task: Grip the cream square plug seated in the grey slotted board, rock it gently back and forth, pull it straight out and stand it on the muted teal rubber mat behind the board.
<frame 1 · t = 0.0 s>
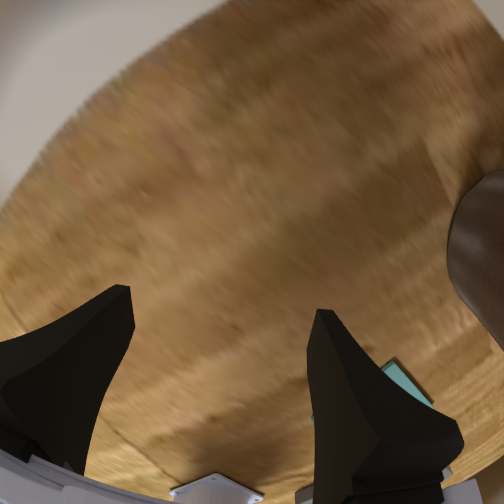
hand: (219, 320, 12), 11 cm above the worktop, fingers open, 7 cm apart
mat: (376, 412, 26), on the worktop
grey slotted board: (364, 489, 31), on the worktop
plant pot: (496, 241, 21), on the worktop
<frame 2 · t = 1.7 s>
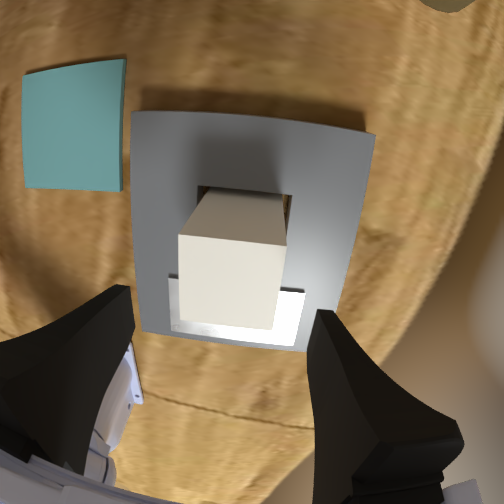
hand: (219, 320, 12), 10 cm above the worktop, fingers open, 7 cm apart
mat: (68, 127, 19), on the worktop
grey slotted board: (239, 261, 23), on the worktop
plug: (243, 221, 21), resting in grey slotted board
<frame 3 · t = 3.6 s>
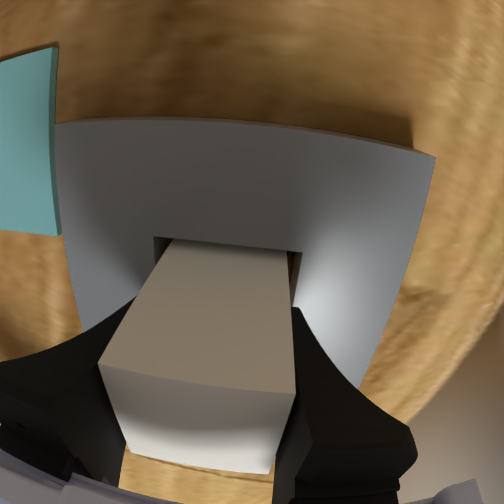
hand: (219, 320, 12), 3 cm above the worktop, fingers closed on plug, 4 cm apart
grey slotted board: (225, 330, 16), on the worktop
plug: (228, 280, 15), resting in grey slotted board, touching gripper
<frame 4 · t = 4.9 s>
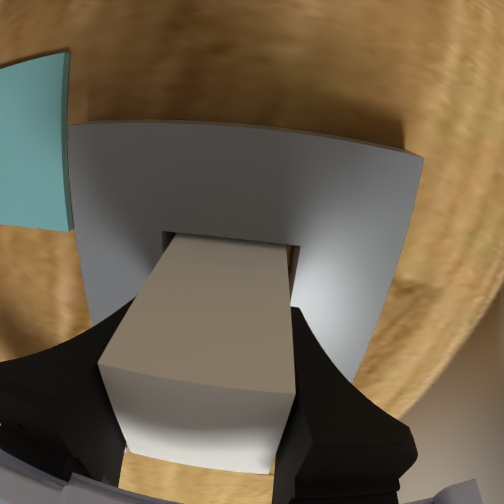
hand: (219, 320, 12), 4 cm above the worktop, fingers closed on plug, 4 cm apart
mat: (7, 146, 13), on the worktop
grey slotted board: (228, 321, 17), on the worktop
plug: (228, 279, 15), point 1 cm above the worktop, touching gripper
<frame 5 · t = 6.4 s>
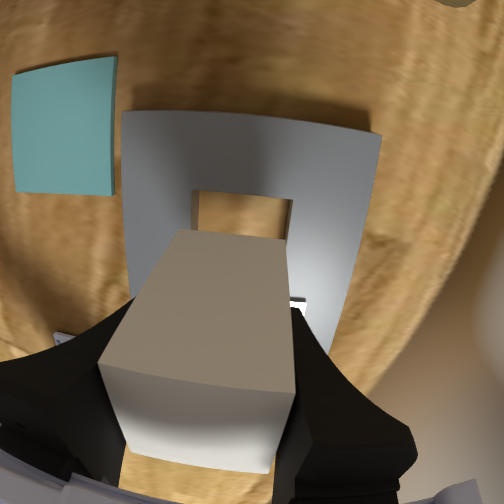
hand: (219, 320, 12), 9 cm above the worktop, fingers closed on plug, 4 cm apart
mat: (58, 128, 18), on the worktop
grey slotted board: (237, 269, 22), on the worktop
plug: (228, 279, 15), point 6 cm above the worktop, touching gripper
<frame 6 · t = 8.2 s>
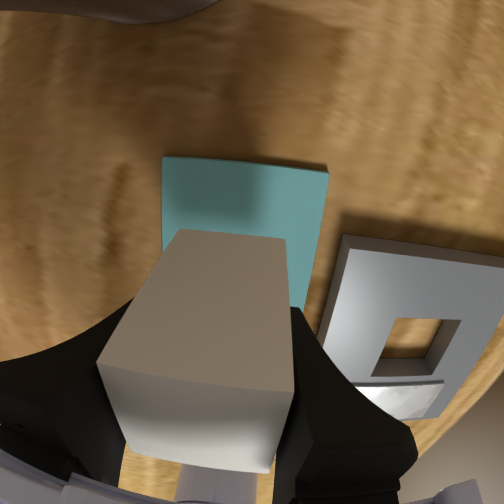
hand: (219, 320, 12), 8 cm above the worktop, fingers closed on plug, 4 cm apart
mat: (238, 237, 19), on the worktop
grey slotted board: (394, 360, 23), on the worktop
plug: (229, 279, 15), point 5 cm above the worktop, touching gripper
when the fingers open (4 cm above the worktop, at t = 9.6 s): plug stays where it is, resting on mat.
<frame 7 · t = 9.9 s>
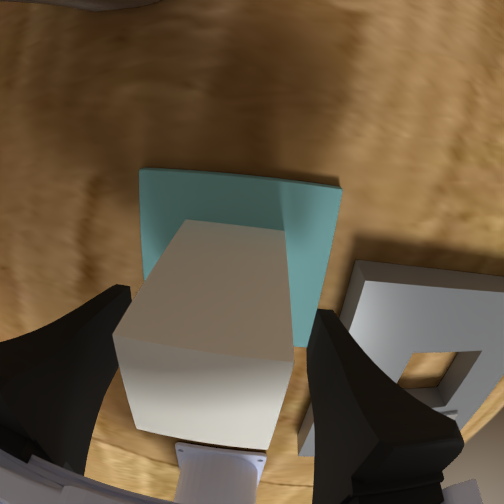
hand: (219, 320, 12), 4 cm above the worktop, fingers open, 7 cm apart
mat: (232, 264, 16), on the worktop
grey slotted board: (406, 391, 20), on the worktop
plug: (230, 268, 15), resting on mat
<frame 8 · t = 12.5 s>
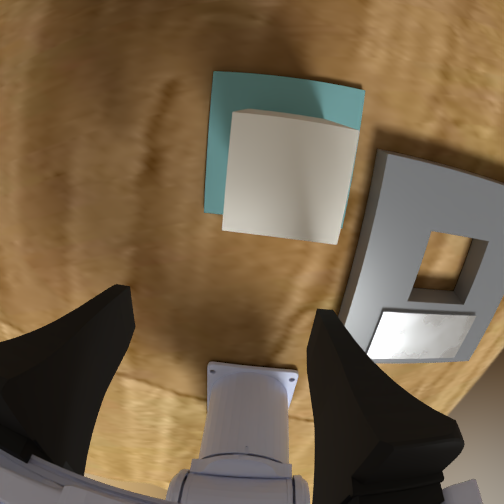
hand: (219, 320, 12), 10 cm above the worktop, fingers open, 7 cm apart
mat: (282, 149, 19), on the worktop
grey slotted board: (426, 291, 23), on the worktop
plug: (282, 149, 19), resting on mat
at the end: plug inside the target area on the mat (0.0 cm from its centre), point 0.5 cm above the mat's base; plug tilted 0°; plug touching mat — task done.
